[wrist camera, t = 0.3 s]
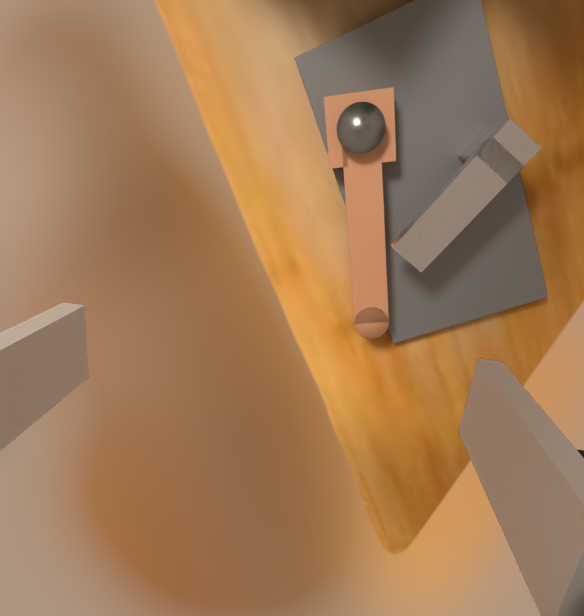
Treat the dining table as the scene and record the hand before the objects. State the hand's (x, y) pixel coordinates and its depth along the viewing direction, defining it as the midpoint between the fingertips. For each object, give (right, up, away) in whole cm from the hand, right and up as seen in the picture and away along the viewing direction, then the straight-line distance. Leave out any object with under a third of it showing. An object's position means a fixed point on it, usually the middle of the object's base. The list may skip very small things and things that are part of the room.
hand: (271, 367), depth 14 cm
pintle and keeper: (+12, +13, +21) cm, 27 cm away
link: (+7, +9, +23) cm, 26 cm away
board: (+12, +13, +22) cm, 29 cm away
